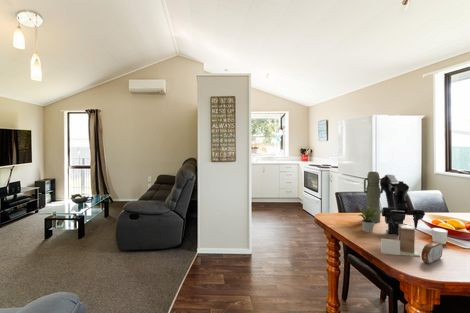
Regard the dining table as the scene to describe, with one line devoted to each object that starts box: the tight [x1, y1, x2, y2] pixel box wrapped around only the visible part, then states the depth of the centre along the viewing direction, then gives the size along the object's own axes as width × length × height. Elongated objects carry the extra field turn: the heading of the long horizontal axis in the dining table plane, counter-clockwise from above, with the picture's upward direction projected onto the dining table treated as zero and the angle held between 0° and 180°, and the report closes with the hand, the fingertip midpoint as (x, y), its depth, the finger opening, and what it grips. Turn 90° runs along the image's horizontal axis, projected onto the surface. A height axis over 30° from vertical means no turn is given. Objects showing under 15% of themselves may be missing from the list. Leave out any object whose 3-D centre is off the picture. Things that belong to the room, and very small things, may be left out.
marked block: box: [398, 223, 416, 253], centre depth 125 cm, size 6×6×12 cm
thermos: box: [363, 171, 384, 224], centre depth 174 cm, size 9×12×35 cm
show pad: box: [399, 248, 421, 258], centre depth 125 cm, size 9×9×1 cm
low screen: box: [380, 238, 400, 256], centre depth 123 cm, size 2×8×7 cm, turn 70°
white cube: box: [431, 227, 448, 245], centre depth 136 cm, size 7×7×7 cm
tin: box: [420, 241, 444, 264], centre depth 115 cm, size 15×3×8 cm, turn 118°
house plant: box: [357, 205, 379, 233], centre depth 154 cm, size 14×14×16 cm
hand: (405, 227), depth 126 cm, fingers open, 9 cm apart
